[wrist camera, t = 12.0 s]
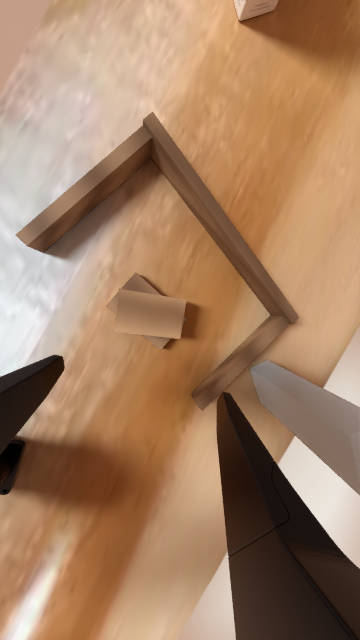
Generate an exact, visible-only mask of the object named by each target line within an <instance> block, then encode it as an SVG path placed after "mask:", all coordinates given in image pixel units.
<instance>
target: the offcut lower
mask: <svg viewBox="0 0 360 640" xmlns="http://www.w3.org/2000/svg"><path fill="white" fill-rule="evenodd" d="M121 289H123V290H130V291H136V292H142V293H148V294H154V295H160V296H162V295H161V294H159V293H158V292H157V291H156V290H155V289H154V288H153V287H152V286H151V285H149V284H148V283H147V282H146V281H145V280H144V279H143V278H142V277H141V276H139V275H138V274H137V273H135V274H134V275H133V276H132V277H131V278H130V279H129V281H128V282H127V283H126V284H125V285H124V286H123V287H122V288H121ZM118 296H119V292H118V293H117V294H116V295H115V296H114V297H113V298H112V300H111V301H110V302H109V303H108V304H107V305H106V307H107V308H109V309H110V310H111V311H112V312H114V313H115V314H116V312H117V304H118ZM186 320H187V318H186V317H185V316H184V318H183V324H184V323H185V322H186ZM142 336H143V337H145V338H146V339H147V340H148V341H150V342H151V343H152V344H153V345H155V346H156V347H157V348H158V349H160V350H161V349H162V348H163V347H164V346H165V345H166V343H167V342H168V341H169V340H170V339H171V338H166V337H157V336H148V335H142Z"/></svg>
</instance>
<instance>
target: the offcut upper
mask: <svg viewBox="0 0 360 640" xmlns="http://www.w3.org/2000/svg"><path fill="white" fill-rule="evenodd" d="M185 306H186V300H185V299H179V298H173V297H167V296H160V295H154V294H148V293H142V292H136V291H130V290H123V289H119V296H118V304H117V312H116V321H115V329H114V332H122V333H130V334H139V335H148V336H157V337H166V338H175V339H180V337H181V331H182V325H183V318H184V312H185Z"/></svg>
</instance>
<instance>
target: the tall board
mask: <svg viewBox="0 0 360 640" xmlns="http://www.w3.org/2000/svg"><path fill="white" fill-rule="evenodd" d="M249 369H250V372H251V375H252V378H253V382H254V385H255V388H256V391H257V395H258V398H259V401H260V403H261V404H262V405H263V406H264V407H265V408H266V409H267V410H268V411H269V412H270V413H272V414H273V415H274V416H275V417H276V418H277V419H278V420H279V421H280V422H281V423H282V424H283V425H284V426H286V427H287V428H288V429H289V430H290V431H291V432H292V433H293V434H294V435H295V436H296V437H297V438H298V439H300V440H301V441H302V442H303V443H304V444H305V445H306V446H307V447H308V448H309V449H310V450H311V451H313V452H314V453H315V454H316V455H317V456H318V457H319V458H320V459H321V460H322V461H323V462H324V463H325V464H327V465H328V466H329V467H330V468H331V469H332V470H333V471H334V472H335V473H336V474H337V475H338V476H339V477H341V478H342V479H343V480H344V481H345V482H346V483H347V484H348V485H349V486H350V487H351V488H353V489H354V490H355V491H356V492H357V493H358V494H359V495H360V407H358V406H356V405H354V404H352V403H350V402H348V401H346V400H344V399H342V398H340V397H339V396H337V395H334V394H333V393H331V392H329V391H327V390H325V389H323V388H321V387H319V386H317V385H315V384H313V383H311V382H309V381H307V380H305V379H304V378H302V377H300V376H298V375H296V374H294V373H292V372H290V371H288V370H286V369H284V368H282V367H280V366H278V365H276V364H274V363H272V362H270V361H269V360H266V361H264V362H261V363H259V364H257V365H255V366H253V367H251V368H249Z"/></svg>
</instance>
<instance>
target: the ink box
mask: <svg viewBox="0 0 360 640" xmlns="http://www.w3.org/2000/svg"><path fill="white" fill-rule="evenodd" d="M233 1H234V5H235V9H236V12H237V16H238V19H239V21H242V20H245V19H249V18H252V17H255V16H258V15H261V14H265V13H268V12H271V11H273V10H274V9H275V7H276V5H277V3H278V1H279V0H233Z"/></svg>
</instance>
